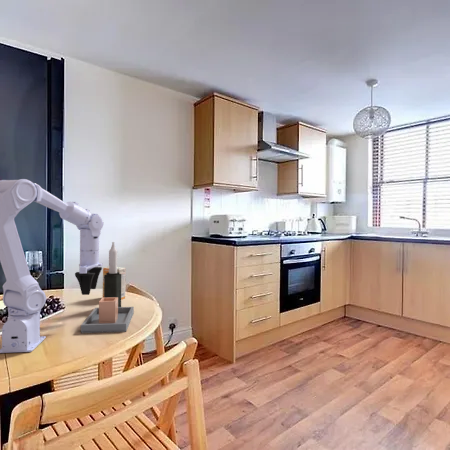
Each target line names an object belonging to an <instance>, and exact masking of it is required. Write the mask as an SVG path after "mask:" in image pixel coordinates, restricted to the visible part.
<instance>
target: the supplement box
mask: <svg viewBox="0 0 450 450" xmlns="http://www.w3.org/2000/svg"><path fill="white" fill-rule="evenodd" d="M108 272H109V266H105V267H102V298H104V275H106V273H108ZM117 272H119V274H121V301H122V300H124V299H126V285H127V284H126V280H127V279H126V278H127V277H126V276H127V275H126V274H127V268H126V267H120V266H119V267H118V266H117Z"/></svg>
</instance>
